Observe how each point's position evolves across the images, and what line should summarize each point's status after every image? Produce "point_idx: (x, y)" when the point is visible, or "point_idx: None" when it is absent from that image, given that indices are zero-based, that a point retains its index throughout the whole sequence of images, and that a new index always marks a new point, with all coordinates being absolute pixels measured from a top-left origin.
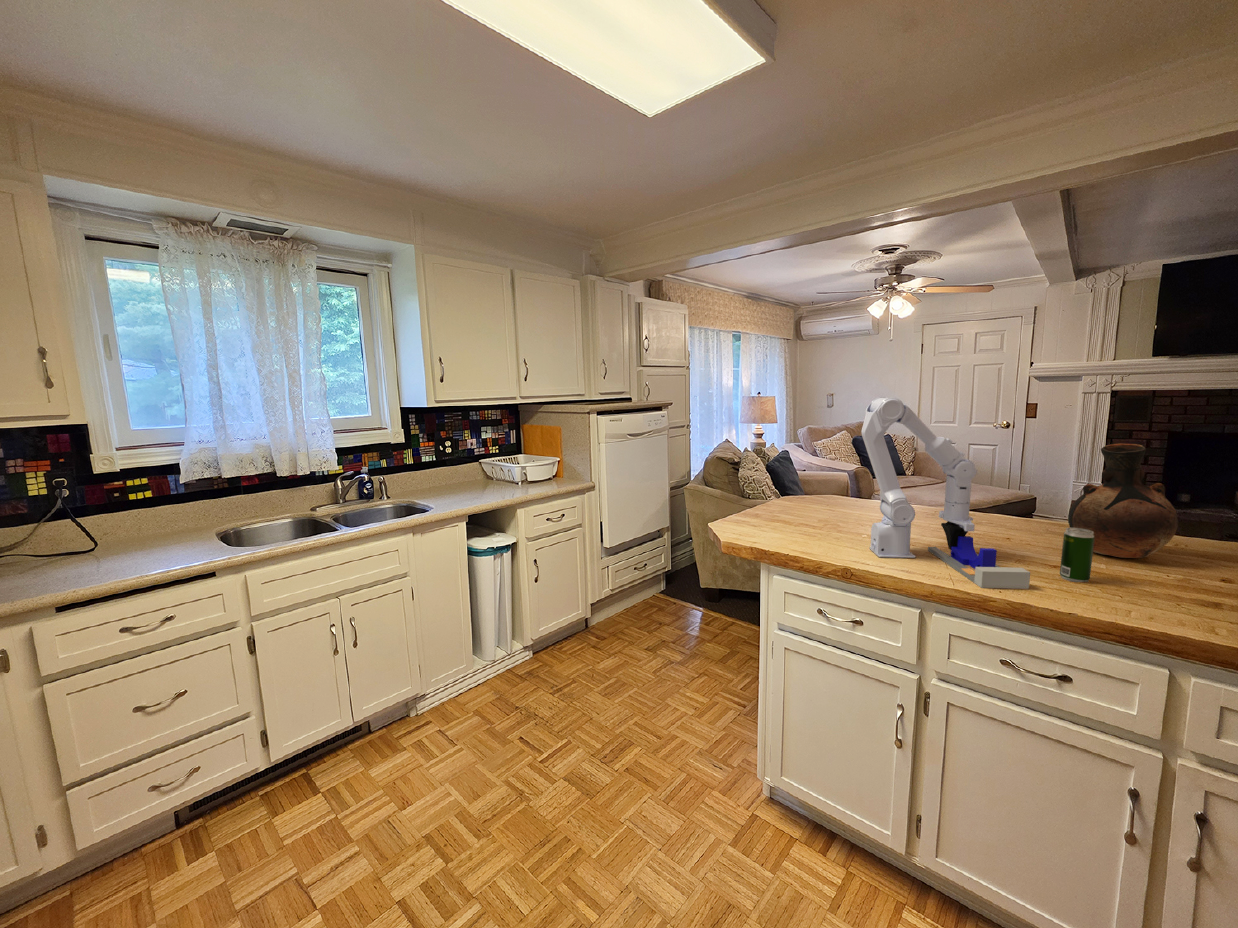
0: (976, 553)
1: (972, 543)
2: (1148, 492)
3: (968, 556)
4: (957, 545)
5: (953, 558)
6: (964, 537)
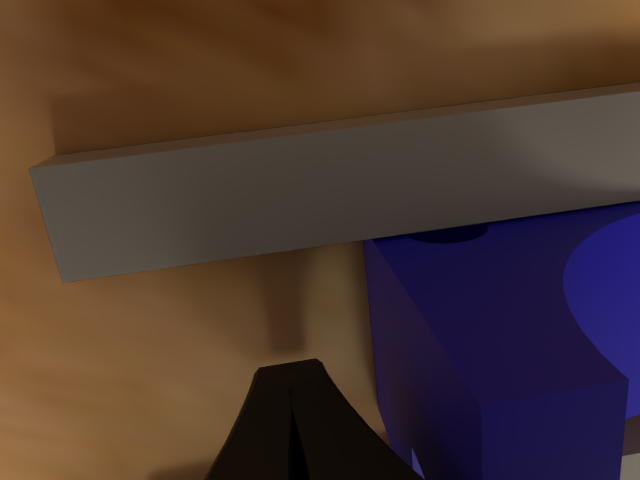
0: (371, 137)
1: (566, 321)
2: None
3: (621, 334)
4: (420, 459)
5: None
6: None
